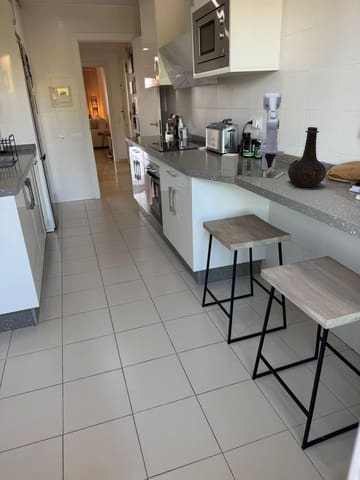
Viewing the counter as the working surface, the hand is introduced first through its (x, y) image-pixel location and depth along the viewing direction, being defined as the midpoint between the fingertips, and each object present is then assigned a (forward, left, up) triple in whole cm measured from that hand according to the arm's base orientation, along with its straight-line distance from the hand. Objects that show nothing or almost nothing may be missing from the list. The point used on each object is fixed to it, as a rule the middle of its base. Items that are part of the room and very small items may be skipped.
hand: (269, 167), depth 190 cm
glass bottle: (+13, +22, -5) cm, 26 cm away
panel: (0, -2, -5) cm, 5 cm away
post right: (-7, -15, -5) cm, 17 cm away
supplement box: (+10, -20, -5) cm, 23 cm away
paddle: (0, -2, -4) cm, 4 cm away
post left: (+7, -15, -5) cm, 17 cm away
